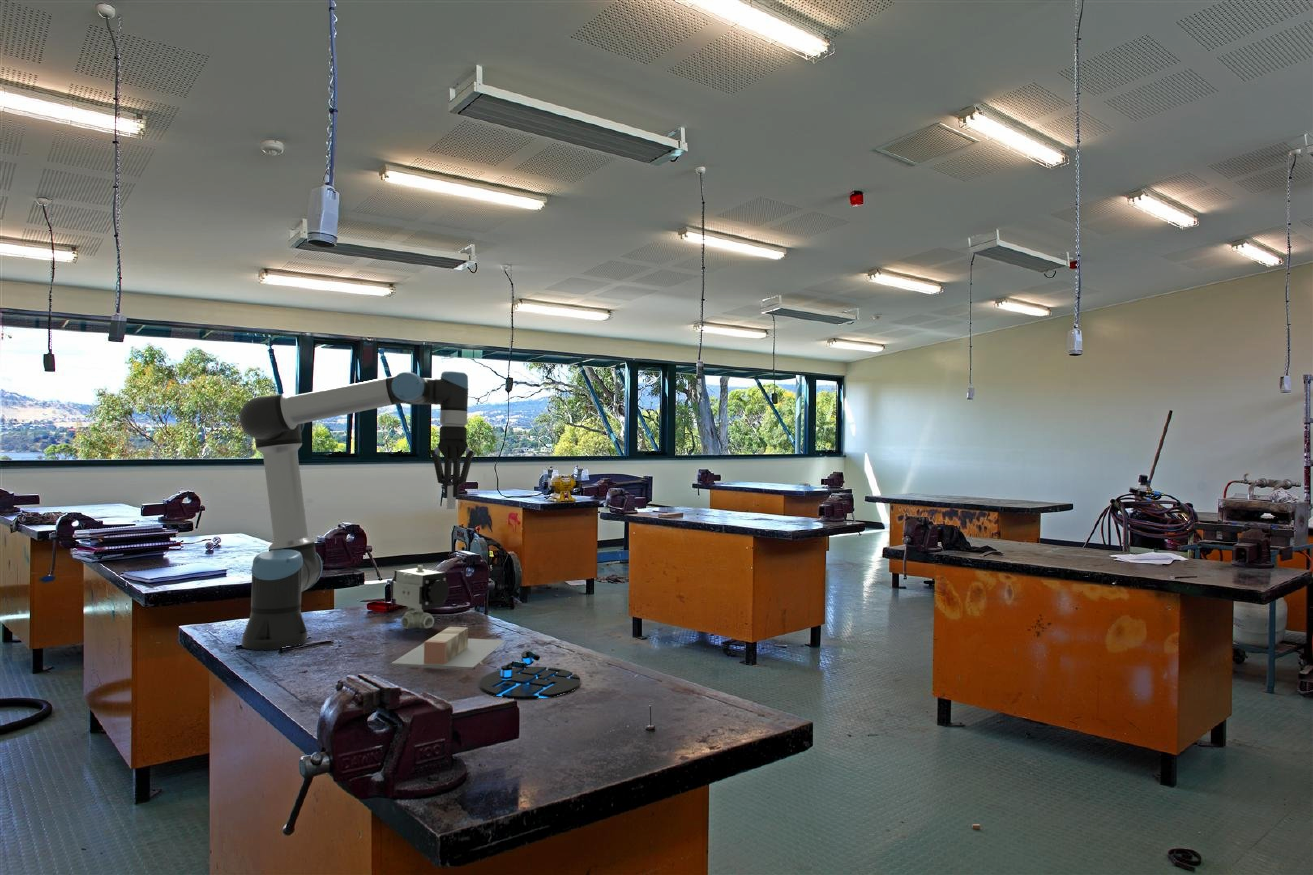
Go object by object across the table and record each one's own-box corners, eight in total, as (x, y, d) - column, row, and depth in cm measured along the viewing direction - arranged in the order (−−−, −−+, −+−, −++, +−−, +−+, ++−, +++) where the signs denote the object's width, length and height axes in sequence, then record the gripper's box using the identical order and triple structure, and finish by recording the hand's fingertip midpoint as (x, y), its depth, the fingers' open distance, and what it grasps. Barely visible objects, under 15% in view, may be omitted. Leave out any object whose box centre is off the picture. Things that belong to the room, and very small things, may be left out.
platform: (596, 677, 175) (597, 649, 175) (550, 706, 154) (551, 674, 154) (513, 666, 182) (513, 639, 182) (458, 692, 162) (459, 661, 162)
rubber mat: (433, 639, 205) (433, 636, 205) (505, 642, 203) (505, 640, 203) (390, 665, 179) (390, 662, 179) (473, 669, 177) (473, 667, 177)
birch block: (449, 626, 196) (424, 641, 180) (468, 627, 195) (444, 642, 179) (448, 646, 196) (423, 663, 180) (467, 647, 195) (444, 664, 179)
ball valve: (384, 625, 219) (386, 564, 219) (409, 621, 226) (411, 561, 226) (424, 635, 209) (426, 570, 209) (449, 630, 215) (450, 567, 216)
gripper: (479, 426, 220) (477, 508, 220) (436, 426, 221) (434, 507, 221) (471, 425, 213) (468, 510, 212) (426, 425, 214) (423, 508, 213)
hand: (451, 508), depth 217 cm, fingers closed
